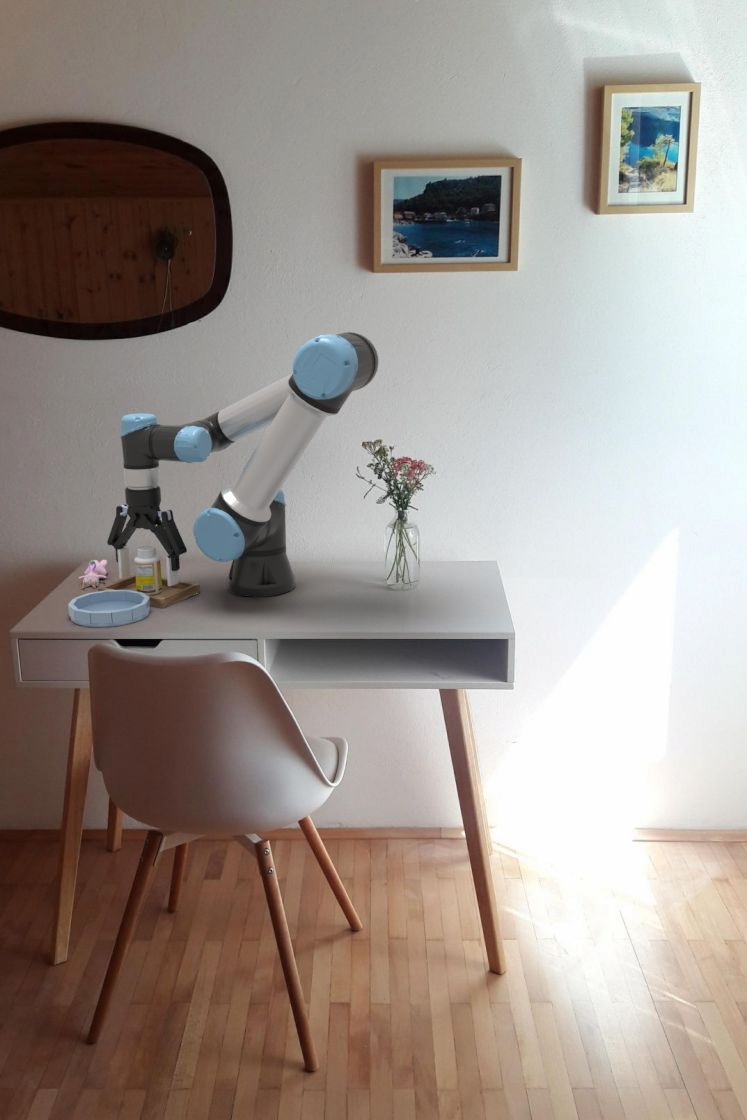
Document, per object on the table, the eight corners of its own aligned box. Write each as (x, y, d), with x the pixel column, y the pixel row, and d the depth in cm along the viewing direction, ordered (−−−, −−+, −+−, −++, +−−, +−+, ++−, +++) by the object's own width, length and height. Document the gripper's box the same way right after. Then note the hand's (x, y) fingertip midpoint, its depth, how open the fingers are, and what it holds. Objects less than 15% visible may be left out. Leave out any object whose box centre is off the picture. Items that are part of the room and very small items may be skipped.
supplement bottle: (153, 587, 240) (150, 543, 237) (167, 592, 236) (164, 547, 233) (131, 592, 236) (128, 547, 234) (145, 597, 232) (142, 552, 230)
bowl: (165, 609, 226) (164, 596, 225) (113, 631, 212) (112, 617, 211) (107, 599, 233) (106, 586, 232) (53, 620, 220) (52, 606, 219)
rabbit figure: (103, 594, 242) (114, 567, 255) (100, 571, 239) (112, 544, 253) (75, 595, 241) (88, 567, 255) (72, 571, 239) (85, 544, 252)
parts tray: (200, 592, 238) (199, 583, 237) (162, 608, 227) (162, 599, 226) (137, 582, 246) (136, 573, 245) (98, 597, 235) (97, 588, 234)
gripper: (199, 488, 227) (204, 583, 233) (110, 478, 239) (116, 569, 244) (177, 494, 221) (183, 592, 227) (86, 484, 233) (93, 577, 238)
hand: (148, 580), depth 236 cm, fingers open, 13 cm apart
